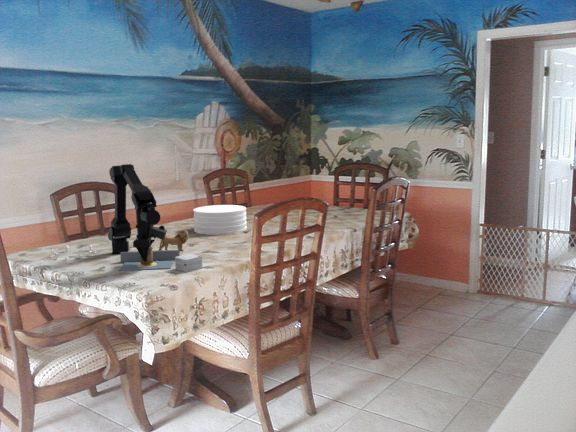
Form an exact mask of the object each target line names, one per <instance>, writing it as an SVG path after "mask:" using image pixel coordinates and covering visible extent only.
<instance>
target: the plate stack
mask: <svg viewBox="0 0 576 432" xmlns="http://www.w3.org/2000/svg"><path fill="white" fill-rule="evenodd" d="M192 212H193V213H194V214H193V227H194V228H193V230H194V232H195V233H196V234H200V235H201V234H202V235H208V236H209V235H211V236H212V235H213V236H214V235H219V236H220V235H221V236H222V235H231V234H232V235H233V234H236V233H237V234H238V233H241V232H245V231H247V230H248V226H247V225H248V224H247V223H248V222H247V207H246V206H244V205H236V204H213V205H203V206H198V207H195V208H193V209H192Z"/></svg>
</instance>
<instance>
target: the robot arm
mask: <svg viewBox="0 0 576 432" xmlns="http://www.w3.org/2000/svg"><path fill="white" fill-rule="evenodd" d="M108 174H109V177H110V180H111V182H112V183H113V185H114V217H113V219H112V220H111V222H110V227H109V230H108V233H107V239H108V240H109V241H111V249H112V252H111V255H120V252H130V241H128V239H131V237H132V235H131V234H132V228H131V223H130V222H129V220H128V219H127V186H129V188H130V191H131V196H130V197H131V202H132V204H133V206H134V210H135V218H136V219H135V221H136V224H135V228H136V239H134V240H133V242H132V247H133V248H135V249H136V250H137V252H139V254H140V255H141V257H142V259H143V261H144V262H146V261H147V255H148V248H149V247H152V246H153V245H152V244H153V243H154V242H155V240H156V238H157V239H160V241H161V240H164V238H165V237H167V235H166V234H167V232H168V231H167V229H166V228H165V225H162V224H161V225H159V226H155V225H157V224H158V223H159V222H160V220H161V214H160V212H159V211H158V210H156V208H157V203H158V202H157V200H156V198H155V196H154V194H153V192H152V191H151V189H150V188H149V187H148V186H146V185H144V184H143V182H142V181H141V179H140V178H139V176H138V174H137V172H136V170H135V166H134V164H131V163H127V164H121V165H112V166H111V167H110V168H109V173H108ZM152 238H153V239H152Z"/></svg>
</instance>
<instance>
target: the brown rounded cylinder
mask: <svg viewBox="0 0 576 432" xmlns="http://www.w3.org/2000/svg"><path fill="white" fill-rule="evenodd" d="M153 251H154V249H153V247H152V246H151V247H149V248H148V255H147V261H146V262H144V261H143V259H142V257H141V255H140V261H139V262H140V263H141V264H151V263H153Z"/></svg>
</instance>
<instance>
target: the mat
mask: <svg viewBox="0 0 576 432" xmlns="http://www.w3.org/2000/svg"><path fill="white" fill-rule="evenodd" d="M174 263H175V260H163V261H153V263H151V264H141V263H140V261H139V262H123V264H121V266H120V267H119V268H118V269H117V272H126V271H127V272H128V271H151V270H152V271H153V270H169V269H170V270H171V269H172V266H173V264H174Z"/></svg>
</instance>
